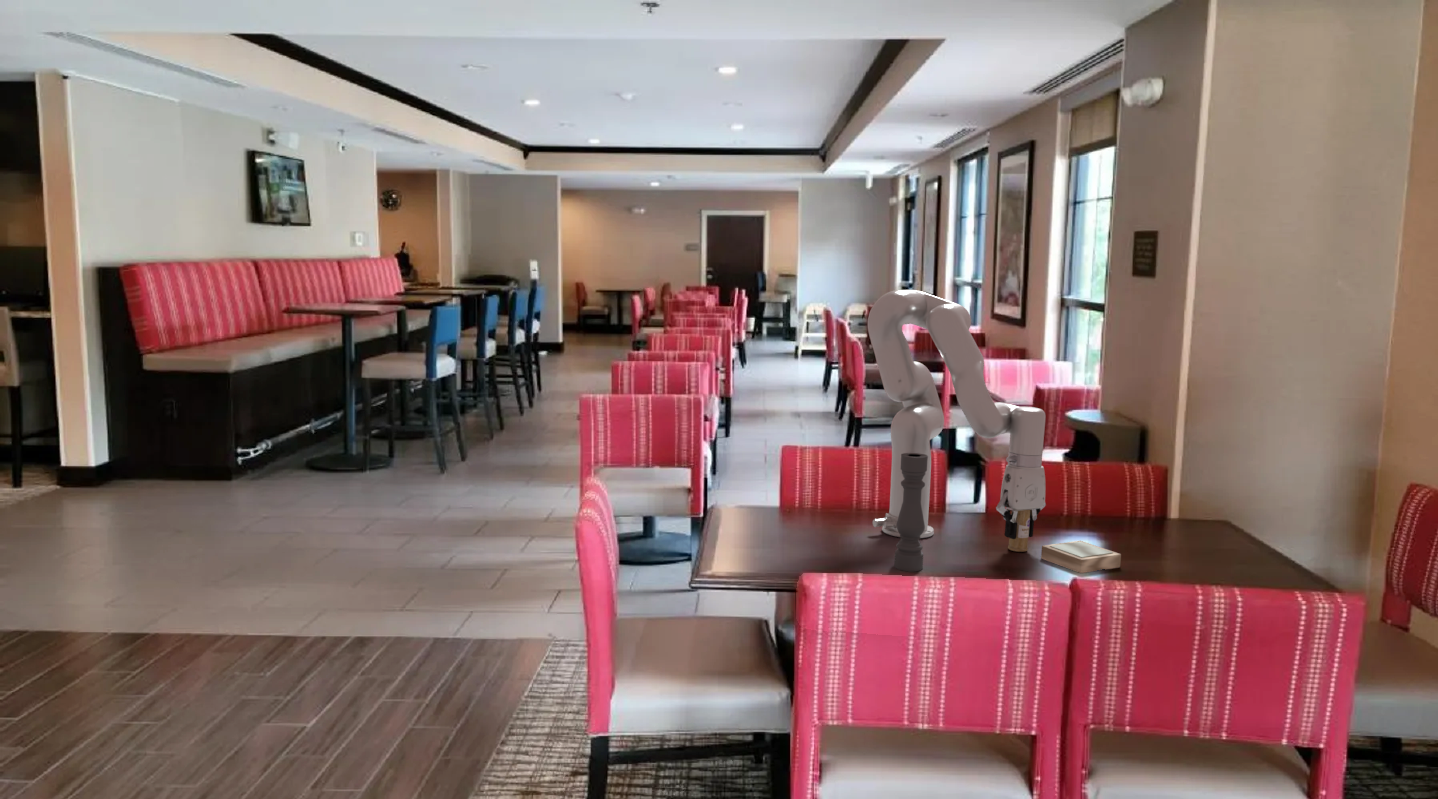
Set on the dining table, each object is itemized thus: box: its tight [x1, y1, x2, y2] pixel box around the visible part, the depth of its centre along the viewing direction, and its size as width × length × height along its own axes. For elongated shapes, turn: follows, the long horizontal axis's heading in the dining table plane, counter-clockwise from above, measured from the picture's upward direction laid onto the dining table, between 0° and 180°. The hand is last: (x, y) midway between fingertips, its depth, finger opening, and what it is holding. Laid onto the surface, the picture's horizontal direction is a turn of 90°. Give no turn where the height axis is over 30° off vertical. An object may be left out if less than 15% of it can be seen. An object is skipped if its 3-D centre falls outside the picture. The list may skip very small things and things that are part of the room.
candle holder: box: [893, 453, 928, 572], centre depth 226 cm, size 6×6×25 cm
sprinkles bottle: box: [1007, 510, 1030, 553], centre depth 243 cm, size 5×5×14 cm
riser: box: [1040, 540, 1122, 574], centre depth 235 cm, size 12×12×3 cm
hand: (1018, 535), depth 243 cm, fingers closed on sprinkles bottle, 4 cm apart
